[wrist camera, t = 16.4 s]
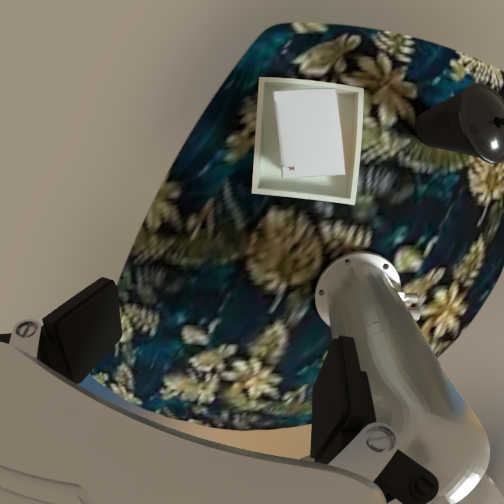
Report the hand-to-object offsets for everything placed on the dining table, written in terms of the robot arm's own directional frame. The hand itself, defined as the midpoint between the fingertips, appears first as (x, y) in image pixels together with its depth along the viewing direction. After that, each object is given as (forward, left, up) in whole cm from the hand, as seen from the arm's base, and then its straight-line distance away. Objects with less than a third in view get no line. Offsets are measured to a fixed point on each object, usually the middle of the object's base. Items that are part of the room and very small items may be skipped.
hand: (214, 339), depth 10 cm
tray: (-4, -10, -26) cm, 28 cm away
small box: (-3, -9, -26) cm, 27 cm away
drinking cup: (-20, -14, -26) cm, 36 cm away
